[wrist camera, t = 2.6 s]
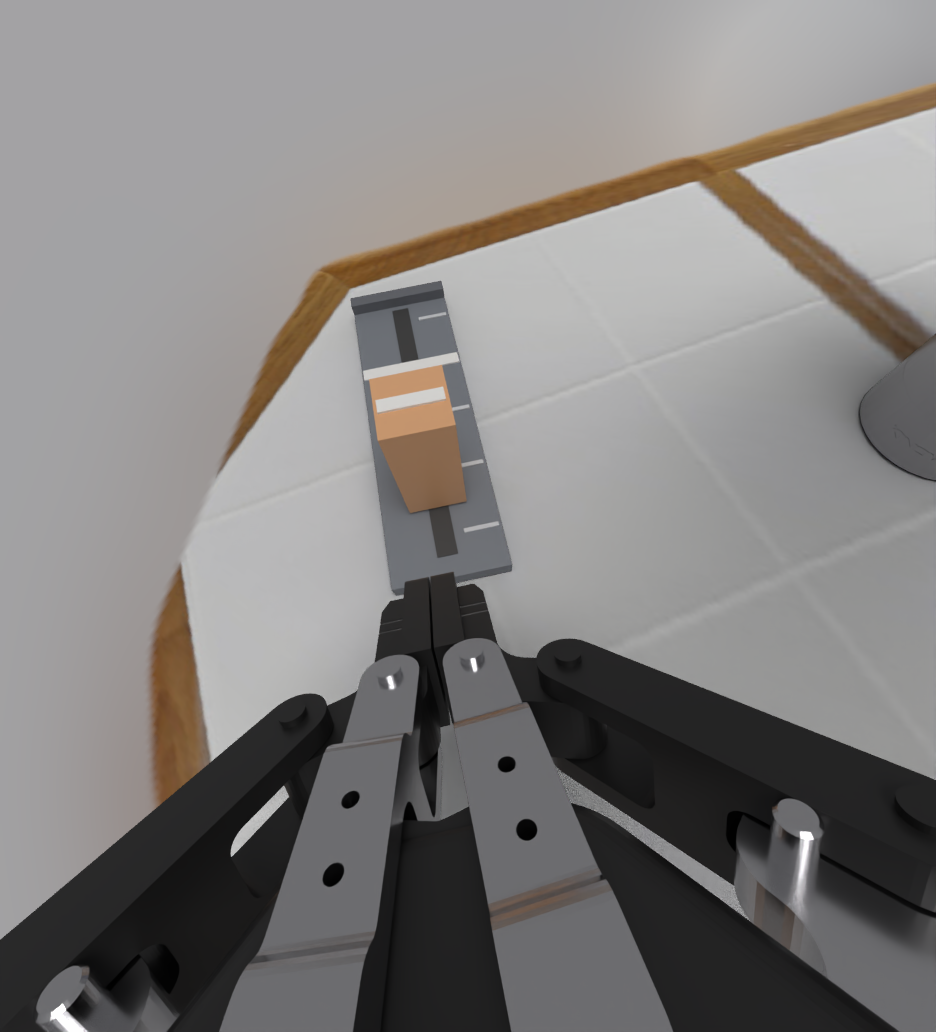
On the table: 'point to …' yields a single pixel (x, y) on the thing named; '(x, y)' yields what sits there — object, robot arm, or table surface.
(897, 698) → the table surface
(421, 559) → the fader rail
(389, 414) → the fader tab
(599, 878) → the robot arm
